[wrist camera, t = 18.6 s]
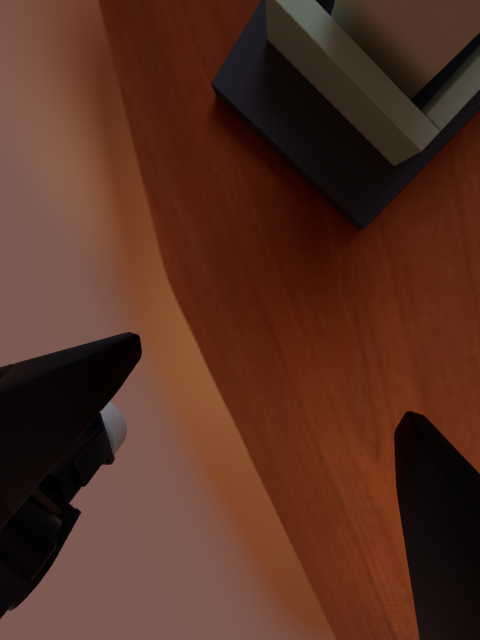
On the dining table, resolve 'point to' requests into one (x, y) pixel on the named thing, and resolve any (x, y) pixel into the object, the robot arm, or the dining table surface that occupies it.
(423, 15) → the white rectangular block
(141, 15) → the dining table surface
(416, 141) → the stepped rectangular base
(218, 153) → the dining table surface
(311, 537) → the dining table surface
